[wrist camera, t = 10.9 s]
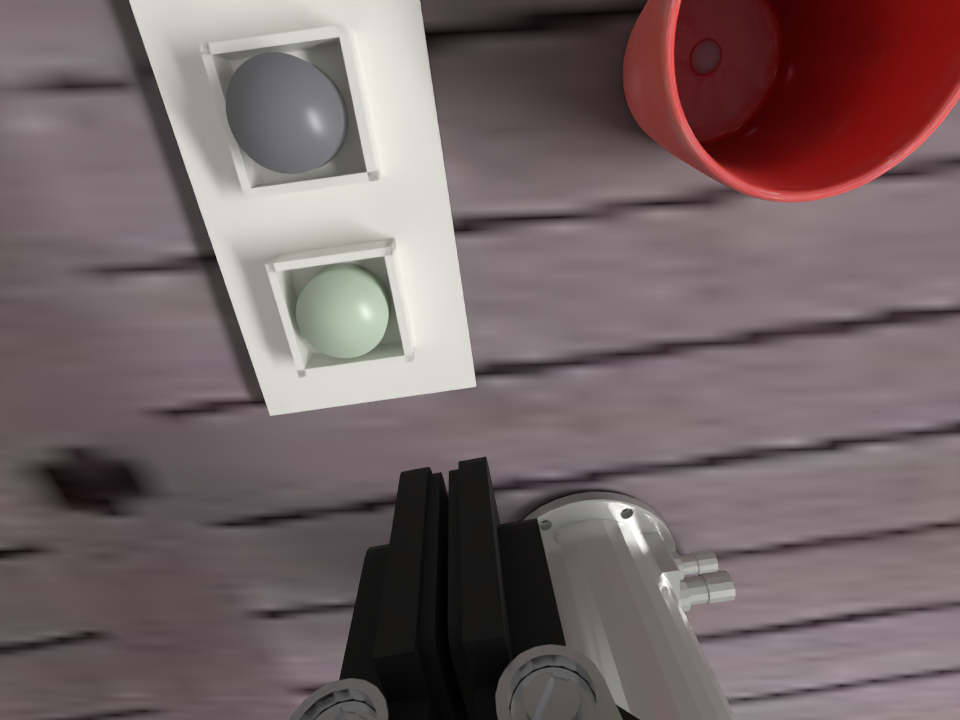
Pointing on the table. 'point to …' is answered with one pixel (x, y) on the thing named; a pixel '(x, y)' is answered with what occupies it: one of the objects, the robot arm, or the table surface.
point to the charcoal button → (286, 113)
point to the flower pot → (793, 88)
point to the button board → (322, 190)
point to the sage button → (344, 310)
